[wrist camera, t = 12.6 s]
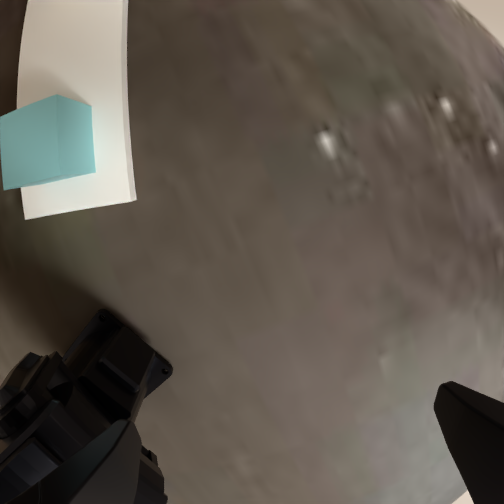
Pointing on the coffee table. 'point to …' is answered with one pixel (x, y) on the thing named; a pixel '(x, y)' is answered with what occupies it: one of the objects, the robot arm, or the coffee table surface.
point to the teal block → (46, 142)
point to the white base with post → (80, 95)
